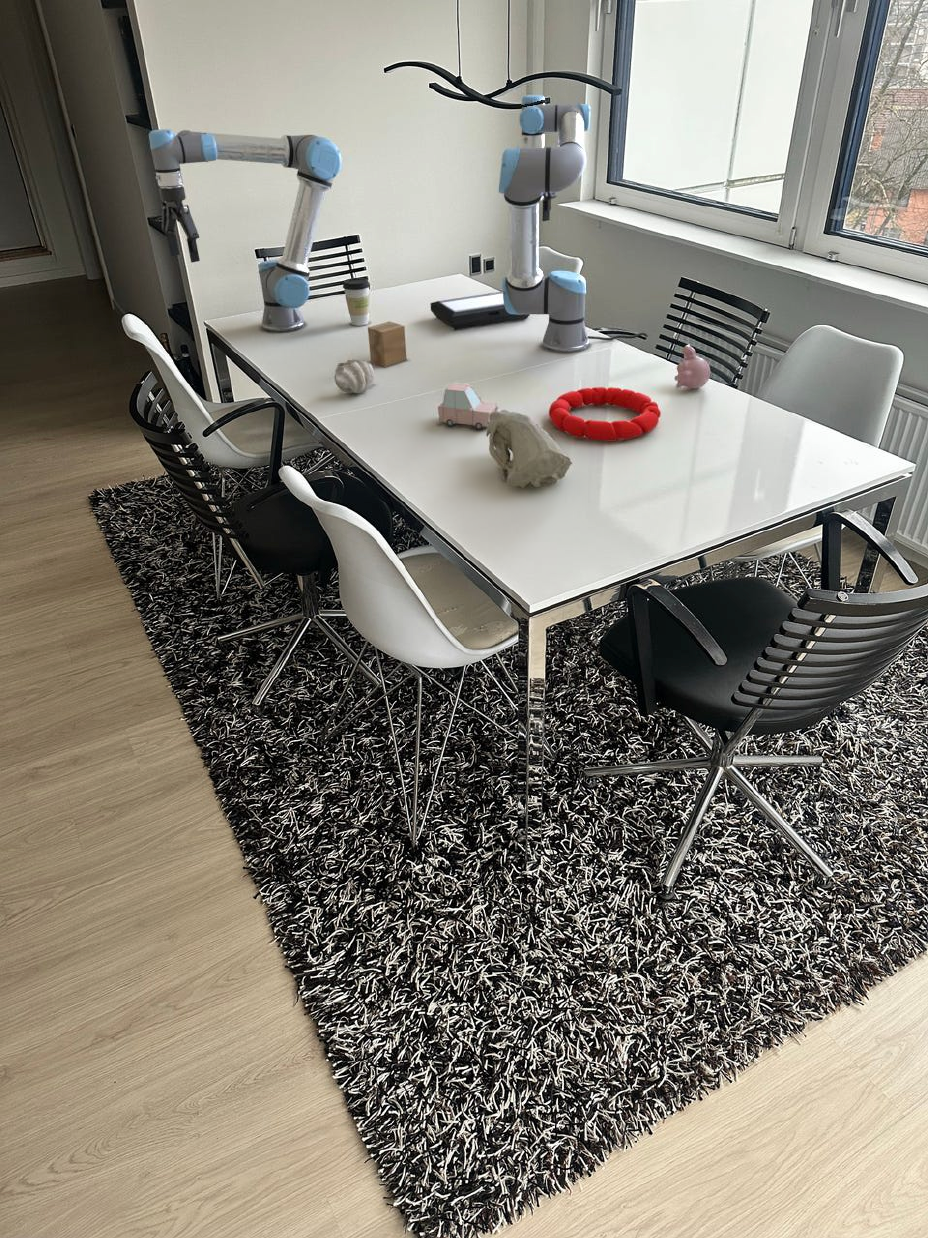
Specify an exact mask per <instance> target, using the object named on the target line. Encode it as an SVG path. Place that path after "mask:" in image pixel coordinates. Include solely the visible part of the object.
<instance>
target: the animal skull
mask: <svg viewBox="0 0 928 1238" xmlns="http://www.w3.org/2000/svg"><path fill="white" fill-rule="evenodd" d="M485 436H486V438H487V437H489V438H488V440H489V444H488V445H489V446H488V450H489V454H490V456H491V457H492V458H493V459H494V460H495V462H496V464H497V466H499V468H500V470H501V471H502V472H501V478H502V479H507V480H506V484H507V486H517V487H518V486H519V488H523V489H524V488H526V486H527V485H529V483H531V485H533V486H534V487H536V488H540V485H541V484H542V482H544V483H549V484H550V485H553V484H555V483H556V482H557V480H561V479H563V478H565V476H566V474H567V472H568V471H569V469H570V467H571V466H572V464H573V462H572V461H571V458H570V457H568V456H567V455H565V453H564V451H562V449H561V448H560V446H559V444H557V443H556V439H555V438H554V436H553V435H551V434H550V433H548V432H547V431H546V430H545V429H544V428H542V427H541V426H539V425H538V424H537V423H536V424H535V422H534V421H533V419H532V418H531V417H530V416H529V415H527V414H524V413H519V412H515V411H509V410H507V409H502V410H500V411H499V410H497V411H496V412H492V413H491V414H490V422H488V423H487V427H486V435H485ZM511 453H512V454H511ZM511 455H512V457H513V458H512V460H511ZM507 474H508V475H507Z"/></svg>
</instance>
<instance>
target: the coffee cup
mask: <svg viewBox="0 0 928 1238" xmlns="http://www.w3.org/2000/svg"><path fill="white" fill-rule="evenodd" d="M370 287H371V283H370V282H369V279H367V278H365V277H351V278H347V279H345V280H344V281H343V285H342V288H343V290H344V297H345V301H346V305H347V310H348V314H349V318H350V323H351V325H353V326H357V327H359V326H365V325H368V324H369V317H370V316H369V313H370Z"/></svg>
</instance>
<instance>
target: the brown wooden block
mask: <svg viewBox="0 0 928 1238" xmlns="http://www.w3.org/2000/svg"><path fill="white" fill-rule="evenodd" d="M367 334H368V347H369V355H370V363H372V364H375V365H378V366H381V367H383V368H388V367H390V366H391V367H392V366H394V365H396V364H397V365H398V364H400V363H403V362H406V361H407V360H408V359H407V343H406V328H405V325H403V324H399V323H396V322H393V321H386V322H383V323H378V324H376V325H372V326H368V327H367Z"/></svg>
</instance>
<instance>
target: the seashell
mask: <svg viewBox="0 0 928 1238" xmlns="http://www.w3.org/2000/svg"><path fill="white" fill-rule="evenodd" d="M333 377H334V382H335V384H336V386H337V387H338V388H339V390H340V391H342V393H345V394H353V393H354V394H362V393H365V392H366V391H367V390H368V389H370V387H371V385H372V383H373V382H374V379H375V370H374V368H373V366H372V364H371V362H368V363H367V361H365V360H364V359H363V360H360V359H348V360H347V361H346V362H339V363H338V364H337V367H336V368H335V372H334V376H333Z"/></svg>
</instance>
